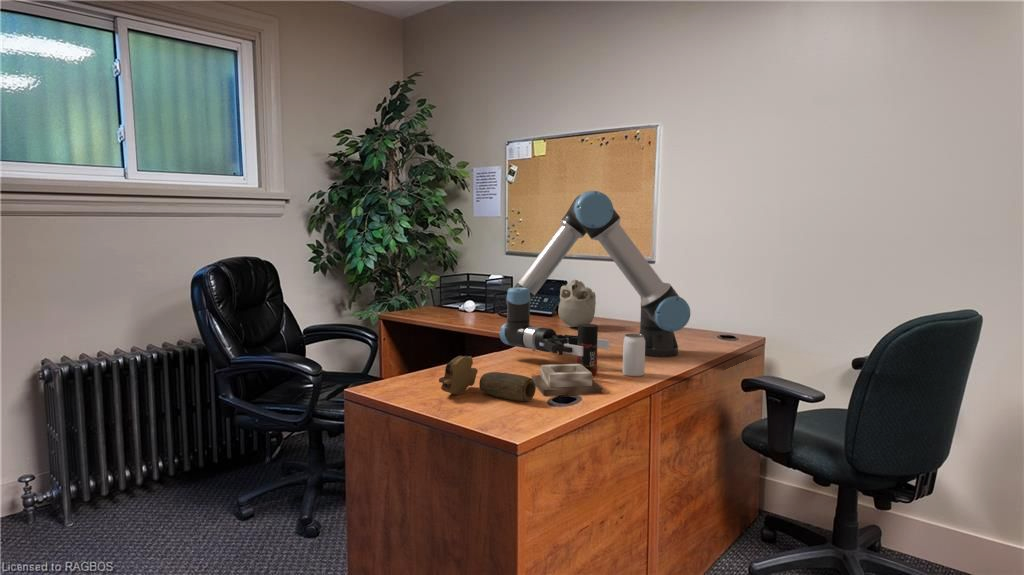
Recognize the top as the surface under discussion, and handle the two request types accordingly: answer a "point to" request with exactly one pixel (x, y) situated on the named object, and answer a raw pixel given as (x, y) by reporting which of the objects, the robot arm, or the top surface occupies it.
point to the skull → (576, 304)
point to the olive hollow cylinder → (508, 386)
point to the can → (634, 355)
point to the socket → (565, 380)
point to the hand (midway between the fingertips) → (596, 348)
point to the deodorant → (588, 346)
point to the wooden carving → (458, 375)
